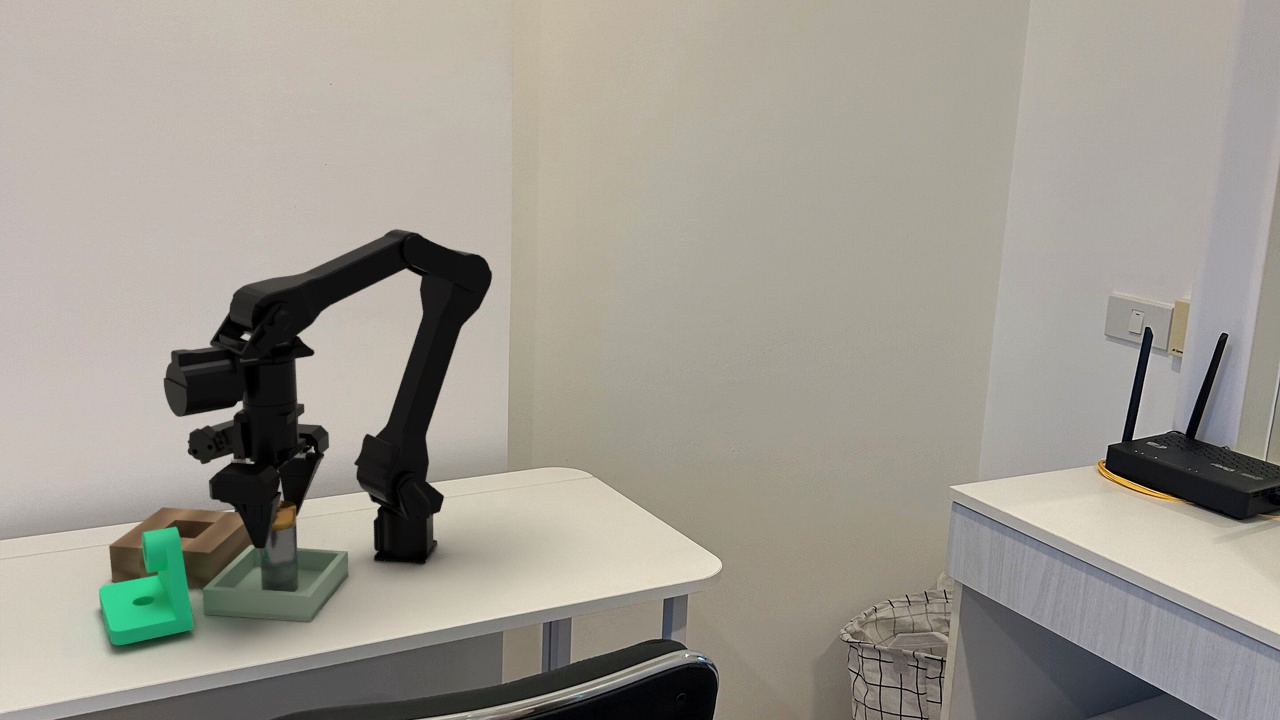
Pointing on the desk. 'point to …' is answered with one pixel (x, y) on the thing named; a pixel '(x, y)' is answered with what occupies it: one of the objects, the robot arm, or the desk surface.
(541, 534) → the desk surface
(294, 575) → the steel pin
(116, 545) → the hole block
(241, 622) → the desk surface
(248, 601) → the tray
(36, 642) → the desk surface
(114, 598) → the camera mount
